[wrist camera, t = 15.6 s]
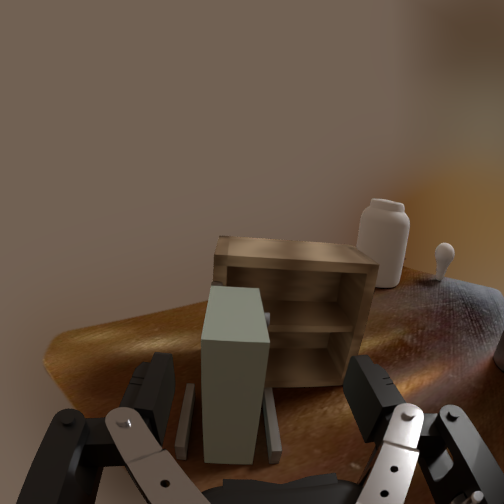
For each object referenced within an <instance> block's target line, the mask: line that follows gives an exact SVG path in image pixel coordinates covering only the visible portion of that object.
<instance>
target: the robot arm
mask: <svg viewBox="0 0 504 504" xmlns="http://www.w3.org/2000/svg"><path fill="white" fill-rule="evenodd" d="M493 358H494V361H495V363H496V365H497V366H498V367H499V368H500V369H501V370H503V371H504V331H503V333H502V336H501V338H500V341H499V343H498V345H497V348H496V351H495V353H494V356H493ZM343 391H344V394H345V397H346V399H347V401H348V404H349V406H350V408H351V411H352V413H353V415H354V418H355V420H356V423H357V425H358V427H359V430H360V432H361V434H362V437H363V439H364V442H365V443H369V442H375V444H376V446H375V447H374V449H373V451H372V454H371V456H370V458H369V460H368V462H367V465H366V467H365V469H364V471H363V473H362V475H361V477H360V479H359V481H358V482H357V484H356V483H353V482H350V481H346V480H337V476H336V473H330V474H323V475H315V476H308V477H305V478H302V479H299V480H296V481H292V482H289V483H285V484H275V483H268V482H262V481H257V480H235V479H223V486H219V487H215V488H211V489H208V490H205V491H203V492H200V491H199V490H198V488H197V487H196V486H195V485H194V484H193V483H192V481H191V480H190V479H189V478H188V476H187V475H186V474H185V473H184V471H183V470H182V469H181V468H180V466H179V465H178V464H177V462H176V461H175V460H174V458H173V457H172V456H171V454H170V453H169V452H168V451H167V450H166V449H162V448H161V447H162V445H163V440H164V436H165V431H166V427H167V422H168V418H169V414H170V409H171V405H172V401H173V396H174V392H175V375H174V366H173V357H172V354H170V353H160V352H155V353H154V355H153V358H152V360H151V363H149V362H142V363H141V364H140V365H139V366H138V367H137V368H135V371H134V373H133V375H132V378H131V380H130V382H129V385H128V387H127V389H126V391H125V394H124V396H123V399H122V401H121V403H120V406H119V408H116V409H113V410H112V411H110V412H109V413H108V414H107V416H106V417H104V418H85V417H84V415H83V414H82V413H81V412H80V411H78V410H75V409H64V410H61V411H59V412H58V413H57V414H56V415H55V416H54V417H53V419H52V421H51V423H50V426H49V428H48V430H47V432H46V434H45V436H44V438H43V440H42V442H41V445H40V447H39V449H38V451H37V453H36V456H35V458H34V460H33V462H32V465H31V467H30V470H29V472H28V474H27V477H26V479H25V482H24V484H23V487H22V489H21V492H20V494H19V497H18V500H17V503H16V504H95V500H96V496H97V491H98V487H99V483H100V479H101V475H102V471H103V467H105V466H106V467H107V466H125V468H126V470H127V471H128V473H129V475H130V476H131V478H132V480H133V482H134V483H135V485H136V487H137V488H138V490H139V491H140V493H141V495H142V496H143V498H144V499H145V501H146V502H147V504H403V503H404V500H405V497H406V494H407V491H408V488H409V485H410V482H411V479H412V476H413V473H414V469H415V466H416V463H417V461H418V463H419V465H420V467H421V470H422V472H423V474H424V477H425V479H426V481H427V484H428V486H429V489H430V491H431V493H432V496H433V498H434V501H435V503H436V504H504V474H503V472H502V470H501V469H500V467H499V465H498V464H497V462H496V460H495V459H494V457H493V455H492V454H491V452H490V451H489V449H488V447H487V446H486V444H485V443H484V441H483V439H482V438H481V436H480V435H479V433H478V432H477V430H476V429H475V427H474V426H473V424H472V423H471V421H470V420H469V418H468V417H467V415H466V414H465V412H464V411H463V410H462V409H461V408H460V407H458V406H455V405H446V406H444V407H442V408H441V410H440V412H439V413H438V414H425V413H423V412H422V410H421V409H420V408H419V407H417V406H415V405H413V404H409V403H406V402H405V400H404V399H403V397H402V395H401V394H400V392H399V391H398V389H397V388H396V386H395V384H393V381H392V380H391V379H390V377H389V375H388V374H387V372H386V370H384V369H383V368H382V367H381V366H379V365H378V364H373V362H372V360H371V359H370V357H369V356H368V355H358V356H352V357H351V358H350V360H349V364H348V367H347V371H346V374H345V378H344V381H343ZM447 447H448V449H449V450H450V452H451V454H452V456H453V459H454V463H453V462H452V460H451V458H450V456H449V454H448V452H447V451H446V449H447Z"/></svg>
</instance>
